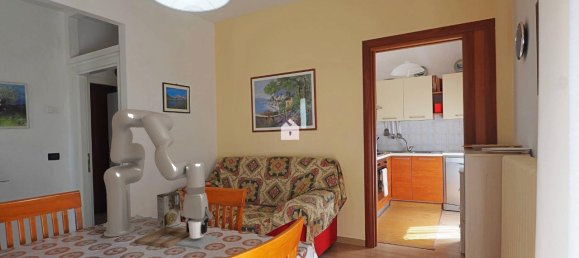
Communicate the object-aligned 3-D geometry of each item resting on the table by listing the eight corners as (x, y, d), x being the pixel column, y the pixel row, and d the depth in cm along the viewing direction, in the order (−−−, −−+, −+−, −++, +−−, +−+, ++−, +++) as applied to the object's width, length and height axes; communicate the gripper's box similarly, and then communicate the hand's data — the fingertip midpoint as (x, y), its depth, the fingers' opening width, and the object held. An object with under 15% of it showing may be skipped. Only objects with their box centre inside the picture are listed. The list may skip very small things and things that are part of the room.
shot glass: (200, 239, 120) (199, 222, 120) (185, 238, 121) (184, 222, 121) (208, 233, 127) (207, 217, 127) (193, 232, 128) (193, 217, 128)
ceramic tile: (175, 245, 120) (175, 243, 120) (194, 235, 132) (194, 233, 132) (200, 248, 116) (200, 246, 116) (217, 237, 128) (217, 236, 128)
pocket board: (134, 243, 124) (134, 240, 124) (165, 229, 141) (165, 226, 141) (168, 248, 118) (168, 244, 118) (196, 233, 135) (196, 229, 135)
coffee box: (173, 221, 153) (173, 191, 153) (180, 223, 149) (180, 192, 149) (157, 226, 145) (156, 194, 146) (164, 229, 142) (163, 196, 142)
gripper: (173, 191, 123) (174, 233, 123) (207, 193, 118) (208, 237, 118) (184, 188, 130) (185, 227, 130) (218, 189, 125) (219, 231, 125)
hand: (196, 232), depth 124 cm, fingers closed on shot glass, 6 cm apart
